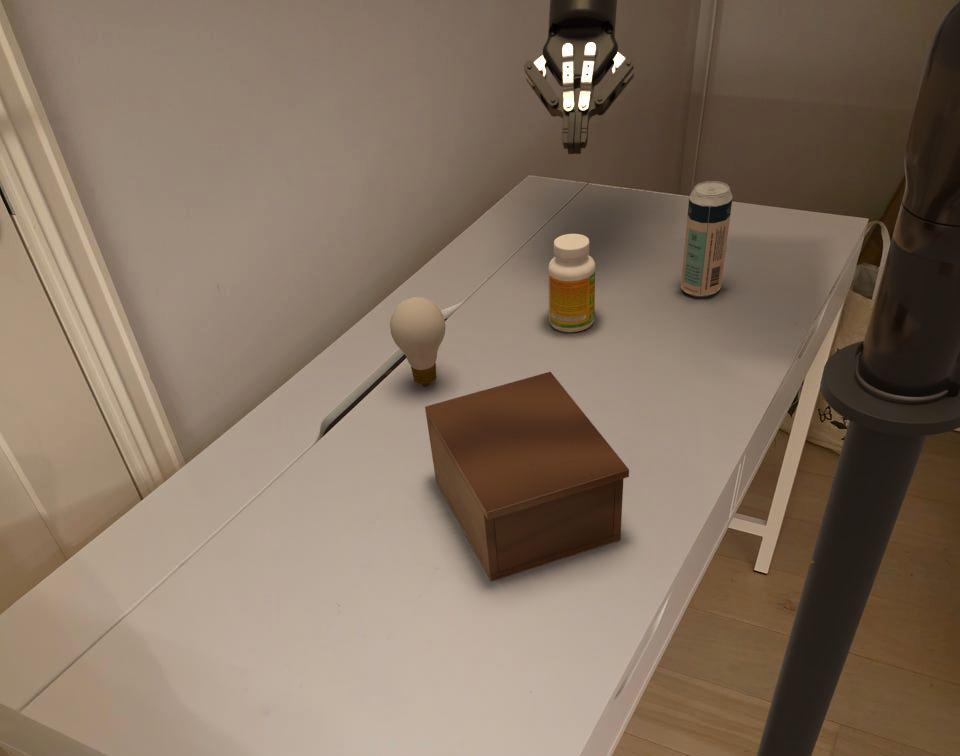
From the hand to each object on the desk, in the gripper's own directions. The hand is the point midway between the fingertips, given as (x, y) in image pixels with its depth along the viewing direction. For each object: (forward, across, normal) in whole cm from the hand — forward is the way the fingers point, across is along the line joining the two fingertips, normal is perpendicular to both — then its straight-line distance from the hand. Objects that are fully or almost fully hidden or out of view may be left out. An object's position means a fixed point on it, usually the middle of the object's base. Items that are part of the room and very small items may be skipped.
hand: (574, 150), depth 100 cm
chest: (+42, -1, -20) cm, 47 cm away
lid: (+37, -1, -26) cm, 45 cm away
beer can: (+13, +16, +10) cm, 22 cm away
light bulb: (+28, -15, -6) cm, 32 cm away
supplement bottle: (+18, +1, +4) cm, 19 cm away
